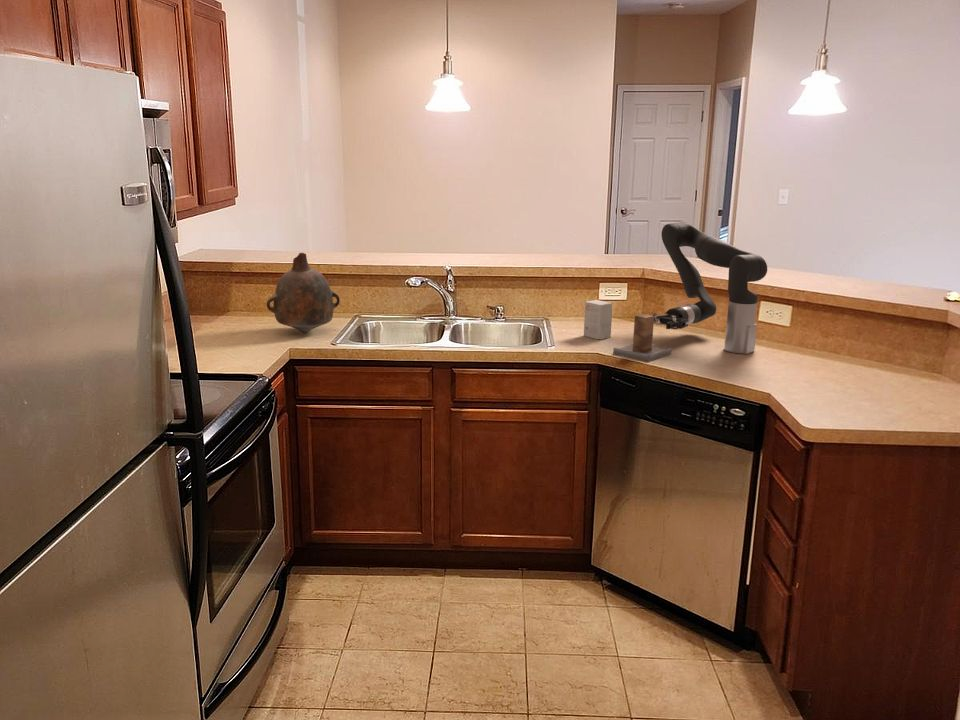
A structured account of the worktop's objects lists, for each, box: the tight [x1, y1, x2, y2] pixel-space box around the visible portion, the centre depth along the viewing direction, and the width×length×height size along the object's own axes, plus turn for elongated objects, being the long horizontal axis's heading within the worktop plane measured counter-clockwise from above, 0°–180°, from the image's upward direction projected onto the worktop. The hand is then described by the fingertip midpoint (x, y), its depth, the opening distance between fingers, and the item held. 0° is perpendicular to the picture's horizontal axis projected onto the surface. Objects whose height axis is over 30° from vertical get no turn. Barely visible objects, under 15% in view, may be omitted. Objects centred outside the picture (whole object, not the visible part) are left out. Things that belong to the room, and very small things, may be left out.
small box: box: [583, 299, 613, 340], centre depth 289 cm, size 8×6×13 cm
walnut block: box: [632, 313, 655, 353], centre depth 266 cm, size 5×5×12 cm
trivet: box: [612, 343, 672, 362], centre depth 267 cm, size 14×14×2 cm
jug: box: [266, 252, 341, 333], centre depth 288 cm, size 24×21×30 cm
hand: (656, 324), depth 270 cm, fingers open, 8 cm apart
